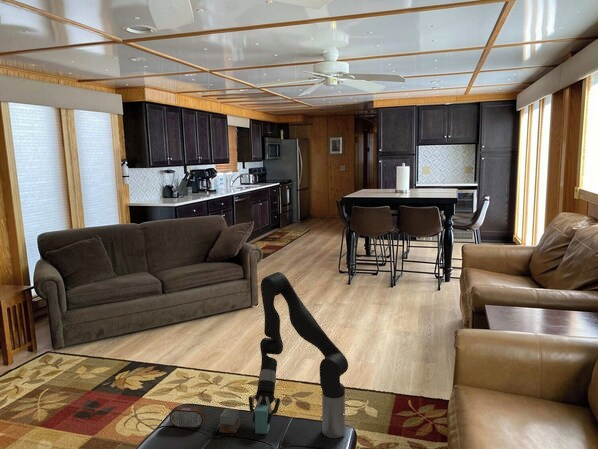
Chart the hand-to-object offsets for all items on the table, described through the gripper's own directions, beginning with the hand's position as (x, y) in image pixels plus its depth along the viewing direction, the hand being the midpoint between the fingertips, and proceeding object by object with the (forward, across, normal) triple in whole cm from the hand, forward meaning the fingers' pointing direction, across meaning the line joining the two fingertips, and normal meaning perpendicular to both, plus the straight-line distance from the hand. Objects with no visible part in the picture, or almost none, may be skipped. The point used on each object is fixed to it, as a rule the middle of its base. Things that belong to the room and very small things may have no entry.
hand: (261, 423), depth 189 cm
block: (+2, 0, +4) cm, 5 cm away
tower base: (+2, -14, +4) cm, 15 cm away
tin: (+3, -32, +4) cm, 33 cm away
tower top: (-1, -14, +2) cm, 14 cm away
